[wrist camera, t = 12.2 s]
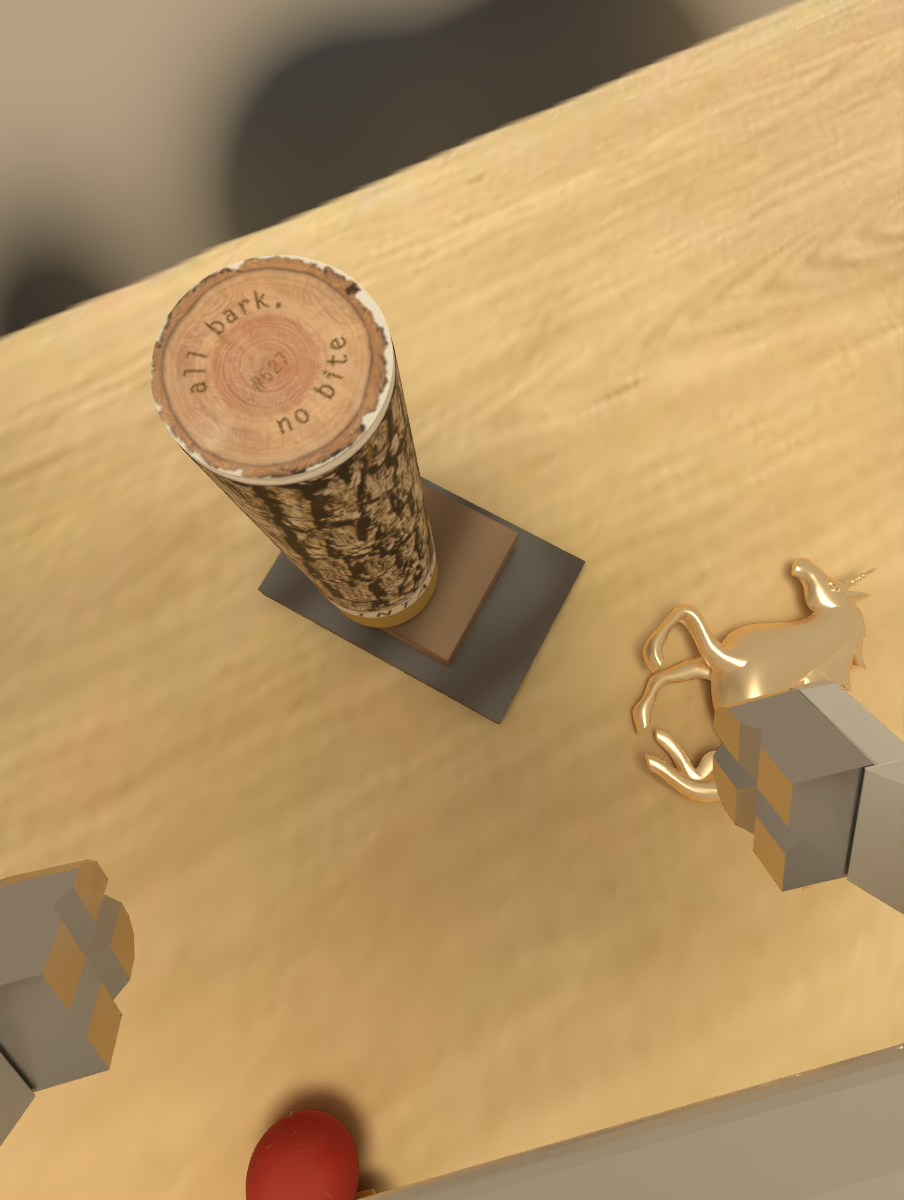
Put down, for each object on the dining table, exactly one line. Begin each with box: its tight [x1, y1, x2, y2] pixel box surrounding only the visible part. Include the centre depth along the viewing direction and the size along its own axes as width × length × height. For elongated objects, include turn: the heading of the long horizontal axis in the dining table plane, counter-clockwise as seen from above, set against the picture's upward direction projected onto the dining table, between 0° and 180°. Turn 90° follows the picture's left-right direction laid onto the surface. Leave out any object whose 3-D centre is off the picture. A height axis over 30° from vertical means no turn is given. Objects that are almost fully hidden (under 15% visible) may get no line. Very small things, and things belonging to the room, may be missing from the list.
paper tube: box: [151, 255, 438, 628], centre depth 33 cm, size 7×7×25 cm
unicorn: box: [633, 558, 876, 891], centre depth 46 cm, size 20×4×17 cm
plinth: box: [258, 477, 585, 724], centre depth 48 cm, size 18×12×5 cm, turn 61°
